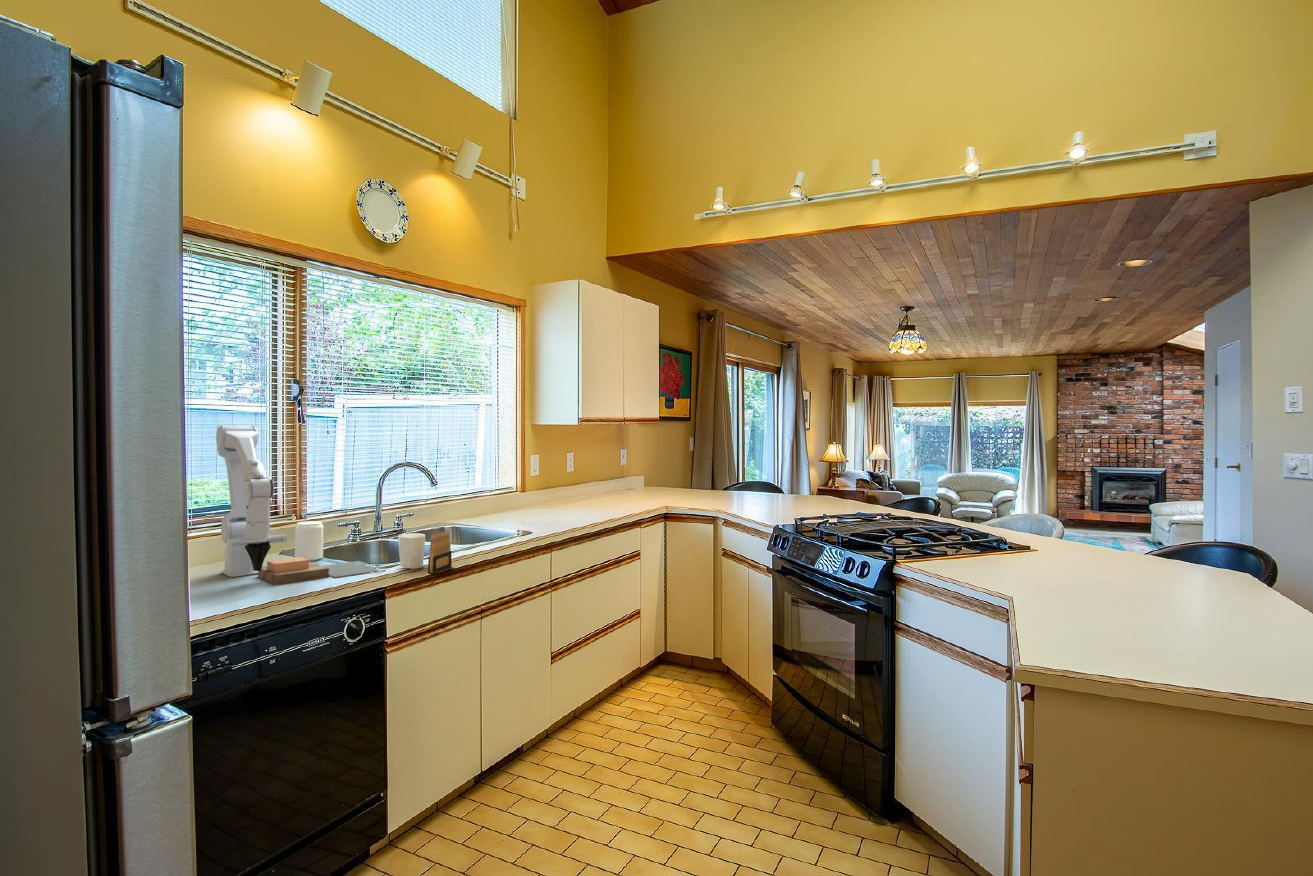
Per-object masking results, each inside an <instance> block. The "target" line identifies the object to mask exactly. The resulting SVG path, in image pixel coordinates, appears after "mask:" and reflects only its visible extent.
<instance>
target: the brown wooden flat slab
mask: <svg viewBox="0 0 1313 876" xmlns="http://www.w3.org/2000/svg"><path fill="white" fill-rule="evenodd" d="M257 577H259V578H260V579H263V580H265V581H268V582H269V583H271V584H273V585H276V586H277V585H283V584H289V583H297V582H304V581H311V580H316V579H322V578H324V579H325V578H329V577H330V576H329V568H327V567H324V565H321V564H318V563H315V562H314V561H309V568H306V569H299V570H291V571H284V572H277V573H274V572H272V571H269V570H267V566H262V569H261V571H258V574H257Z"/></svg>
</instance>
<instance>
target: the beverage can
mask: <svg viewBox="0 0 1313 876" xmlns="http://www.w3.org/2000/svg"><path fill="white" fill-rule="evenodd" d="M294 530H295V534H294V535H295V538H294V539H295V540H294V541H295V545H294V547H295V548H294V558H296V557H302V558H305V559H308V560H309V561H310V562H314V561H318V560H320V559H322V558H323V557H324V525H323V522H322V521H317V520H312V521H311V520H309V521H299V522H297V524H296V526H295V529H294Z"/></svg>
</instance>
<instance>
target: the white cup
mask: <svg viewBox="0 0 1313 876" xmlns="http://www.w3.org/2000/svg"><path fill="white" fill-rule="evenodd" d="M425 545H426V534H424V533H415V532H414V533H403V534H399V535H398V553H399V567H400V566H401V567H403V568H411V569H410V570H415V569H420V568H423V566H424V558H425ZM403 568H402V569H403Z"/></svg>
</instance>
